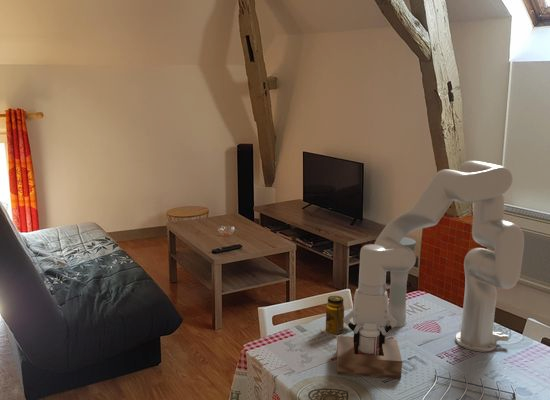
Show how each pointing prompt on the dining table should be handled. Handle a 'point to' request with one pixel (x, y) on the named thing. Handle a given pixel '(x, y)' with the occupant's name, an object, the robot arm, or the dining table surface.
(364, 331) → the pill bottle
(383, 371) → the well block
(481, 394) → the dining table surface
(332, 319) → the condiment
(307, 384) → the dining table surface
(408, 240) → the container
